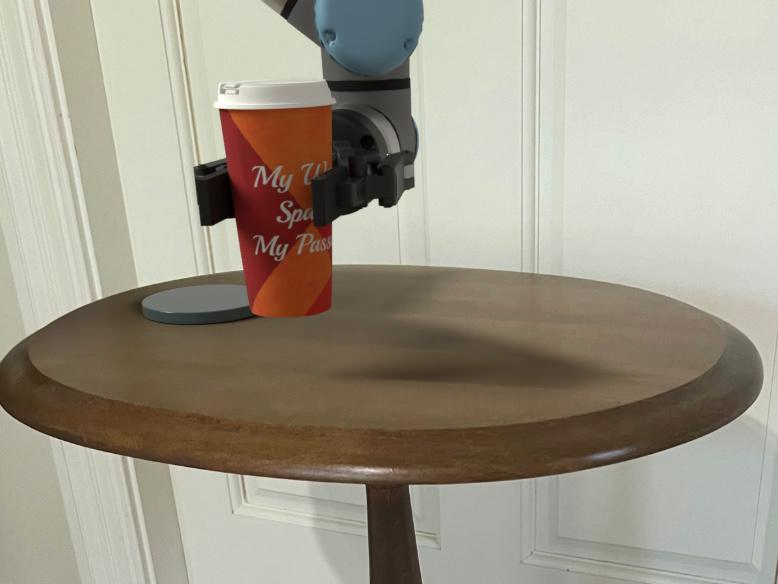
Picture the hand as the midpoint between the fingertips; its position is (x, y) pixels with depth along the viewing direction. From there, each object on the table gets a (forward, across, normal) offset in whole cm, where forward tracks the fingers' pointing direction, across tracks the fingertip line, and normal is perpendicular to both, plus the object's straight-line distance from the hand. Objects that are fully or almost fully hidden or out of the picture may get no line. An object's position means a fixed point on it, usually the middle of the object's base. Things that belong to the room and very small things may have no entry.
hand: (260, 203), depth 66 cm
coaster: (-25, +14, -12) cm, 31 cm away
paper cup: (-5, 0, -8) cm, 9 cm away
